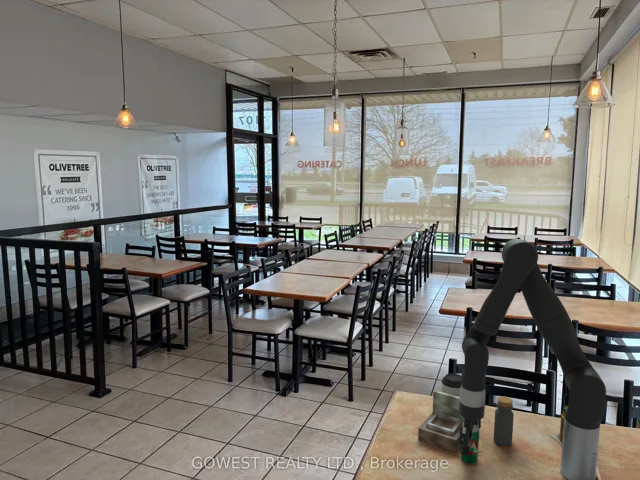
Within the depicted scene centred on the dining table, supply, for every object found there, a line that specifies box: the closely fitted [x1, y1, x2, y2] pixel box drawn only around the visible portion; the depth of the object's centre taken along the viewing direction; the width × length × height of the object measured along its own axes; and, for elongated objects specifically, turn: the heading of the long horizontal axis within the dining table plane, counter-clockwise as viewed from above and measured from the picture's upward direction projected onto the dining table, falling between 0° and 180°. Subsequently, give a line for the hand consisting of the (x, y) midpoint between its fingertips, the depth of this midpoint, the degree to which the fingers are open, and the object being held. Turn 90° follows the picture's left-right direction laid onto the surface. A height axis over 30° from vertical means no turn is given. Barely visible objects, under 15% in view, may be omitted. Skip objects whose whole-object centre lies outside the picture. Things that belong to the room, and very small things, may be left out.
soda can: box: [460, 425, 480, 465], centre depth 148 cm, size 5×5×12 cm
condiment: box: [549, 405, 568, 445], centre depth 159 cm, size 7×8×12 cm
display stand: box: [417, 390, 465, 452], centre depth 161 cm, size 13×14×12 cm
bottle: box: [493, 395, 515, 447], centre depth 158 cm, size 6×6×15 cm
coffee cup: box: [440, 373, 462, 397], centre depth 176 cm, size 9×9×15 cm
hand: (469, 449), depth 148 cm, fingers open, 7 cm apart
